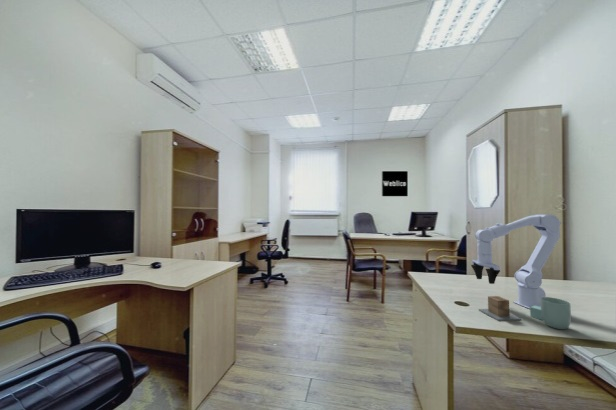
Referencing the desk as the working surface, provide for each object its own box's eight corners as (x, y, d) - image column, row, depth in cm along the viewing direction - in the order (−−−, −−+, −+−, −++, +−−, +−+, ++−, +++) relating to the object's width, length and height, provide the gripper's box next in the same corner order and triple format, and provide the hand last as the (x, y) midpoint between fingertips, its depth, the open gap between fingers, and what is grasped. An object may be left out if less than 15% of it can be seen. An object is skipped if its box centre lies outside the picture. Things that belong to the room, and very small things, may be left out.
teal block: (535, 314, 100) (535, 305, 100) (547, 318, 96) (547, 308, 96) (530, 316, 98) (530, 306, 98) (542, 320, 95) (542, 310, 95)
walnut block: (499, 311, 102) (498, 296, 102) (509, 316, 97) (509, 300, 97) (488, 311, 102) (487, 296, 102) (498, 316, 97) (497, 300, 97)
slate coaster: (499, 309, 105) (499, 308, 105) (521, 320, 95) (521, 318, 95) (478, 310, 104) (478, 309, 104) (497, 320, 94) (497, 319, 94)
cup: (536, 322, 93) (535, 297, 93) (553, 321, 93) (552, 296, 94) (558, 332, 85) (557, 304, 85) (577, 331, 86) (576, 304, 86)
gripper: (466, 251, 123) (466, 277, 122) (488, 256, 108) (489, 285, 108) (478, 251, 123) (479, 277, 123) (503, 256, 109) (504, 285, 108)
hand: (485, 281), depth 115 cm, fingers open, 7 cm apart
